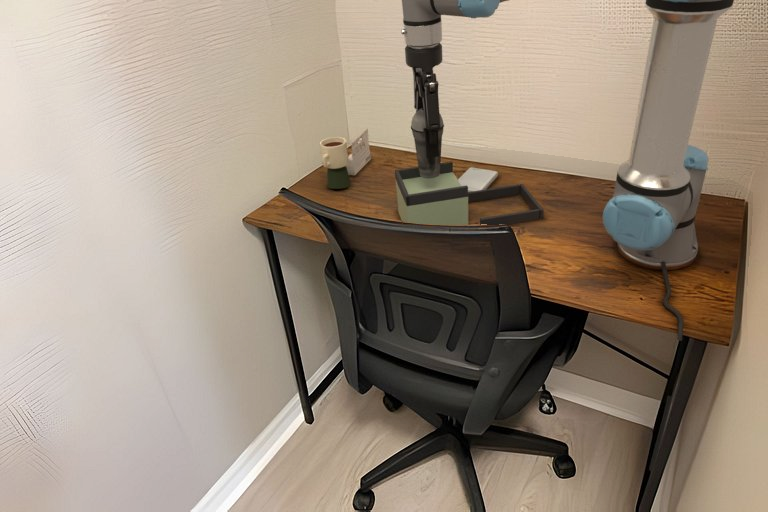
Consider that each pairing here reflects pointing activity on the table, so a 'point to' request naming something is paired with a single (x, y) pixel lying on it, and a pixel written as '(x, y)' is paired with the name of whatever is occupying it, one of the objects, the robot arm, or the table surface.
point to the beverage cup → (426, 165)
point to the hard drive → (477, 179)
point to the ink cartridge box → (359, 154)
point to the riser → (453, 199)
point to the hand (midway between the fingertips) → (428, 149)
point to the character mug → (335, 161)
